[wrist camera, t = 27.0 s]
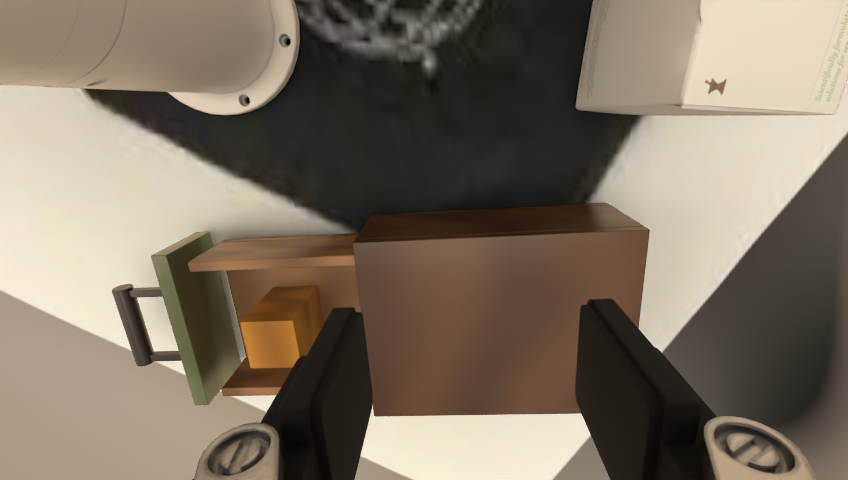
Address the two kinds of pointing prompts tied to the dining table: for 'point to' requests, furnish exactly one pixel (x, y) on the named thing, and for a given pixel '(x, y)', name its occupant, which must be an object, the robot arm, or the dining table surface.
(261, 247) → the drawer
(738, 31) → the cosmetic box
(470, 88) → the dining table surface
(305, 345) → the block
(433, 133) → the dining table surface
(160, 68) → the robot arm
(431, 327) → the cabinet
